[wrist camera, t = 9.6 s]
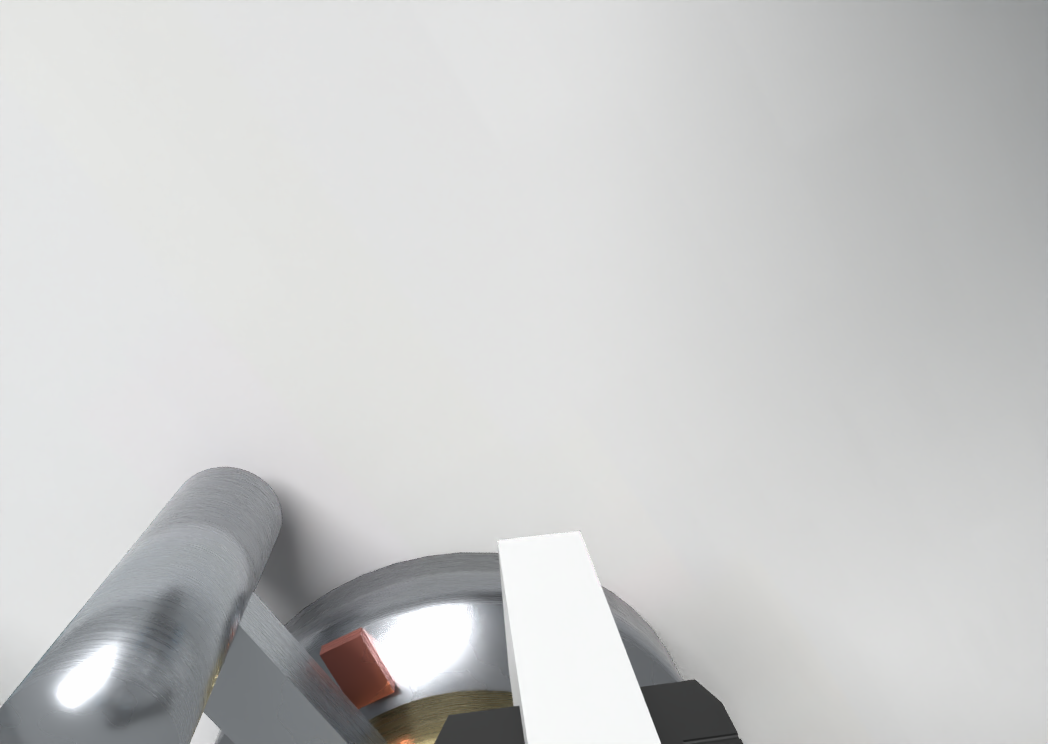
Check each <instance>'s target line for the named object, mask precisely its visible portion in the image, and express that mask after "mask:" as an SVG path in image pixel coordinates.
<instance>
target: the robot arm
mask: <svg viewBox="0 0 1048 744" xmlns="http://www.w3.org/2000/svg"><path fill="white" fill-rule="evenodd" d="M497 541H498V552H499V564H500V575H501V586H502V598H503V609H504V621H505V632H506V644H507V655H508V666H509V675H510V683H511V690H512V698H513V705H514V706H513V707H505V708H498V709H490V710H483V711H475V712H468V713H460V714H453V715H448V717H447V719H446V721H445V723H444V725H443V727H442V729H441V731H440V733H439V735H438V737H437V739H436V741H435V743H434V744H743V742H742V740H741V739H739V738H738V733H737V731H736V729H735V727H734V725H733V723H732V721H731V719H730V717H729V716H728V714H727V712H726V710H725V708H724V706H723V704H722V703H721V702H720V701H719V700H718V699H717V698H716V697H714V696H713V695H712V694H711V693H710V692H709V691H707V690H706V689H705V688H704V687H703V686H702V685H700V684H699V683H698V682H697V681H696V680H688V681H681V682H673V683H666V684H658V685H651V686H643V687H639V684H638V682H637V679H636V676H635V674H634V671H633V668H632V666H631V663H630V660H629V658H628V655H627V653H626V650H625V647H624V645H623V642H622V639H621V637H620V634H619V632H618V629H617V626H616V624H615V621H614V618H613V616H612V613H611V610H610V608H609V605H608V603H607V600H606V597H605V595H604V592H603V589H602V587H601V584H600V582H599V579H598V576H597V574H596V571H595V568H594V566H593V563H592V560H591V558H590V555H589V553H588V550H587V547H586V545H585V542H584V539H583V537H582V534H581V532H580V531H573V532H564V533H555V534H547V535H538V536H529V537H521V538H512V539H503V540H497Z"/></svg>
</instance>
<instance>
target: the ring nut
mask: <svg viewBox="0 0 1048 744" xmlns="http://www.w3.org/2000/svg"><path fill="white" fill-rule="evenodd" d="M281 525H282V510H281V506H280V503H279V500H278V498H277V496H276V494H275V493H274V491H273V490H272V488H271V487H270V486H269V485H268V484H267V483H266V482H265V481H263V480H262V479H261V478H260V477H258V476H256V475H255V474H253V473H250V472H248V471H245V470H242V469H239V468H233V467H217V468H211V469H207V470H204V471H202V472H199V473H197V474H196V475H194V476H192V477H191V478H190V479H188V480H187V481H186V482H185V483H184V484H183V485H182V486H181V487H180V489H179V490H178V491H177V492H176V493H175V495H174V496H173V497H172V498H171V500H170V501H169V502H168V503H167V504H166V506H165V507H164V508H163V509H162V511H161V512H160V513H159V514H158V516H157V517H156V518H155V519H154V520H153V522H152V523H151V524H150V525H149V527H148V528H147V529H146V530H145V531H144V533H143V534H142V535H141V536H140V538H139V539H138V540H137V541H136V543H135V544H134V545H133V546H132V547H131V549H130V550H129V551H128V552H127V554H126V555H125V556H124V557H123V558H122V560H121V561H120V562H119V563H118V565H117V566H116V567H115V568H114V569H113V571H112V572H111V573H110V574H109V576H108V577H107V578H106V579H105V581H104V582H103V583H102V584H101V585H100V587H99V588H98V589H97V590H96V592H95V593H94V594H93V595H92V596H91V598H90V599H89V600H88V601H87V603H86V604H85V605H84V606H83V608H82V609H81V610H80V611H79V612H78V614H77V615H76V616H75V617H74V619H73V620H72V621H71V622H70V623H69V625H68V626H67V627H66V628H65V630H64V631H63V632H62V633H61V634H60V636H59V637H58V638H57V639H56V641H55V642H54V643H53V644H52V646H51V647H50V648H49V649H48V650H47V652H46V653H45V654H44V655H43V657H42V658H41V659H40V660H39V661H38V663H37V664H36V665H35V666H34V668H33V669H32V670H31V671H30V673H29V674H28V675H27V676H26V677H25V679H24V680H23V681H22V682H21V684H20V685H19V686H18V687H17V688H16V690H15V691H14V692H13V693H12V695H11V696H10V697H9V698H8V700H7V701H6V702H5V703H4V704H3V706H2V707H1V708H0V744H190V741H191V739H192V737H193V734H194V732H195V729H196V727H197V725H198V722H199V720H200V718H201V715H202V713H203V712H204V713H205V714H206V715H207V716H208V717H209V718H210V719H211V720H212V721H213V722H214V723H215V724H216V725H217V726H218V727H219V728H220V729H221V730H222V731H223V732H224V733H225V734H226V735H227V736H228V737H229V738H230V739H231V740H232V742H233V743H234V744H434V743H435V741H436V739H437V737H438V735H439V733H440V731H441V729H442V727H443V725H444V723H445V721H446V719H447V717H448V715H453V714H460V713H468V712H475V711H483V710H490V709H498V708H505V707H513V706H514V705H513V698H512V692H507V691H488V690H475V691H461V692H452V693H446V694H441V695H435V696H430V697H426V698H423V699H419V700H416V701H413V702H409V703H406V704H403V705H401V706H398V707H396V708H394V709H391V710H389V711H386V712H384V713H382V714H380V715H378V716H376V717H374V718H372V719H371V720H369V721H368V720H367V719H366V718H365V716H364V715H363V714H362V713H361V712H360V711H359V710H358V709H357V707H356V706H355V705H354V704H353V703H352V702H351V701H350V700H349V698H348V697H347V696H346V695H345V694H344V693H343V692H342V691H341V689H340V688H339V687H338V686H337V685H336V684H335V683H334V682H333V680H332V679H331V678H330V677H329V676H328V675H327V674H326V673H325V671H324V670H323V669H322V668H321V667H320V666H319V665H318V664H317V662H316V661H315V660H314V659H313V658H312V657H311V656H310V655H309V653H308V652H307V651H306V650H305V649H304V648H303V647H302V646H301V644H300V643H299V642H298V641H297V640H296V639H295V638H294V637H293V635H292V634H291V633H290V632H289V631H288V630H287V629H286V628H285V626H284V625H283V624H282V623H281V622H280V621H279V620H278V619H277V617H276V616H275V615H274V614H273V613H272V612H271V611H270V610H269V608H268V607H267V606H266V605H265V604H264V603H263V602H262V601H261V599H260V598H259V597H258V596H257V595H256V594H255V593H254V591H255V589H256V586H257V584H258V582H259V579H260V577H261V575H262V572H263V570H264V568H265V565H266V563H267V561H268V558H269V556H270V553H271V551H272V549H273V546H274V544H275V542H276V539H277V537H278V535H279V532H280V529H281Z"/></svg>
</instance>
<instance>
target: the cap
mask: <svg viewBox="0 0 1048 744" xmlns="http://www.w3.org/2000/svg"><path fill="white" fill-rule="evenodd" d="M601 587H602V586H601ZM602 589H603V592H604V595H605V597H606V600H607V603H608V605H609V608H610V610H611V613H612V616H613V618H614V621H615V624H616V626H617V629H618V632H619V634H620V637H621V639H622V642H623V645H624V647H625V650H626V653H627V655H628V658H629V660H630V663H631V666H632V668H633V671H634V674H635V676H636V679H637V682H638V684H639V687H643V686H651V685H658V684H666V683H673V682H681V681H683V680H682V678H681V676H680V674H679V672H678V670H677V668H676V666H675V664H674V663H673V661H672V659H671V657H670V655H669V653H668V651H667V649H666V648H665V646H664V645H663V644H662V642H661V641H660V639H659V638H658V636H657V635H656V634H655V632H654V631H653V629H652V628H651V627H650V626H649V625H648V624H647V623H646V622H645V621H644V620H643V619H642V618H641V616H640V615H639V614H638V613H637V612H636V611H635V610H634V609H633V608H631V607H630V606H629V605H628V604H626V603H625V602H624V601H623V600H621V599H620V598H619V597H617V596H616V595H615V594H614V593H612V592H611V591H609V590H608V589H606V588H604V587H602ZM285 628H286V629H287V630H288V631H289V632H290V633H291V634H292V635H293V637H294V638H295V639H296V640H297V641H298V642H299V643H300V644H301V646H302V647H303V648H304V649H305V650H306V651H307V652H308V653H309V655H310V656H311V657H312V658H313V659H314V660H315V661H316V662H317V664H318V665H319V666H320V667H321V668H322V669H323V670H324V671H325V673H326V674H327V675H328V676H329V677H330V678H331V679H332V680H333V682H334V683H335V684H336V685H337V686H338V687H339V688H340V689H341V691H342V692H343V693H344V694H345V695H346V696H347V697H348V698H349V700H350V701H351V702H352V703H353V704H354V705H355V706H356V707H357V709H358V710H359V711H360V712H361V713H362V714H363V715H364V716H365V718H366V719H367V720H368V721H369V720H371V719H372V718H374V717H376V716H378V715H380V714H382V713H384V712H386V711H389V710H391V709H394V708H396V707H398V706H401V705H403V704H406V703H409V702H413V701H416V700H419V699H423V698H426V697H430V696H435V695H441V694H446V693H452V692H461V691H475V690H488V691H507V692H512V690H511V683H510V675H509V666H508V655H507V644H506V632H505V621H504V609H503V598H502V586H501V575H500V564H499V553H452V554H443V555H434V556H426V557H422V558H417V559H413V560H409V561H404V562H400V563H395V564H392V565H390V566H387V567H384V568H381V569H378V570H376V571H373V572H370V573H367V574H364V575H362V576H360V577H358V578H356V579H354V580H352V581H350V582H348V583H346V584H344V585H342V586H340V587H338V588H336V589H334V590H332V591H330V592H329V593H327V594H326V595H324V596H323V597H321V598H320V599H318V600H317V601H315V602H314V603H312V604H311V605H309V606H308V607H306V608H305V609H303V610H302V611H301V612H300V613H299V614H298V615H296V616H295V617H294V618H293V619H292V620H291V621H289V622H288V623H287V624H286V625H285ZM215 744H234V743H233V742H232V740H231V739H230V738H229V737H228V736H227V735H226V734H225V733H224V732H223V731H222V730H221V729H220V731H219V733H218V736H217V739H216V741H215Z"/></svg>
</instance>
